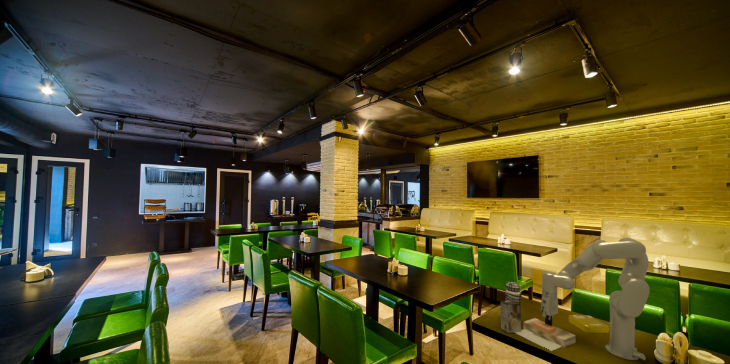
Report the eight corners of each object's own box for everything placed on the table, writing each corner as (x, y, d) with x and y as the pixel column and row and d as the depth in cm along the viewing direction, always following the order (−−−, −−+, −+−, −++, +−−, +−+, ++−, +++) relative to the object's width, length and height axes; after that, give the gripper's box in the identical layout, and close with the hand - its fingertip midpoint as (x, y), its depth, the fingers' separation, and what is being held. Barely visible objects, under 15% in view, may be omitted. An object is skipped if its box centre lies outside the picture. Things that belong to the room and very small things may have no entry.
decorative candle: (523, 327, 168) (524, 285, 168) (508, 326, 168) (509, 285, 168) (515, 320, 177) (517, 280, 177) (501, 319, 177) (502, 280, 177)
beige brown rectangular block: (575, 342, 153) (575, 335, 153) (563, 347, 147) (564, 340, 147) (534, 324, 172) (535, 317, 172) (523, 328, 166) (523, 321, 166)
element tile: (586, 333, 164) (586, 325, 164) (567, 321, 179) (567, 313, 179) (610, 334, 165) (611, 326, 165) (589, 321, 180) (589, 314, 180)
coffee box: (512, 326, 168) (512, 299, 169) (521, 331, 162) (521, 303, 163) (500, 328, 165) (500, 300, 166) (508, 333, 159) (508, 304, 160)
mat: (561, 346, 148) (561, 346, 148) (551, 351, 143) (551, 350, 143) (524, 329, 165) (524, 328, 165) (514, 332, 160) (514, 332, 160)
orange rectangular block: (555, 332, 155) (555, 327, 155) (549, 334, 152) (549, 330, 152) (538, 325, 163) (538, 320, 163) (532, 327, 160) (532, 322, 160)
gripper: (548, 298, 153) (547, 331, 153) (563, 294, 160) (562, 326, 160) (535, 293, 160) (534, 325, 159) (549, 289, 167) (548, 320, 166)
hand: (548, 325), depth 160 cm, fingers closed
